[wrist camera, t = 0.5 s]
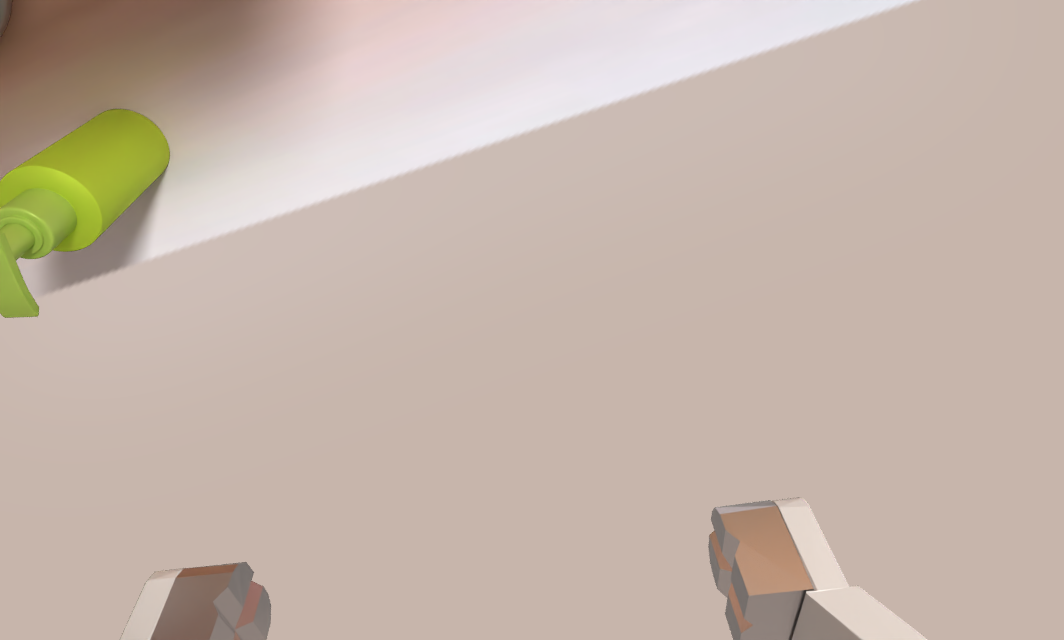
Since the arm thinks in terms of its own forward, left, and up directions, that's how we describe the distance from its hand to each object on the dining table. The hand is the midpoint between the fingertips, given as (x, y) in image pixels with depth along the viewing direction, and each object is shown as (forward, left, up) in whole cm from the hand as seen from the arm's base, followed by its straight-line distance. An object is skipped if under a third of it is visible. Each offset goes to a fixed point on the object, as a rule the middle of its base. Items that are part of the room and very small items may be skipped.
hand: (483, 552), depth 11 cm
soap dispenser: (+1, -27, -48) cm, 55 cm away
